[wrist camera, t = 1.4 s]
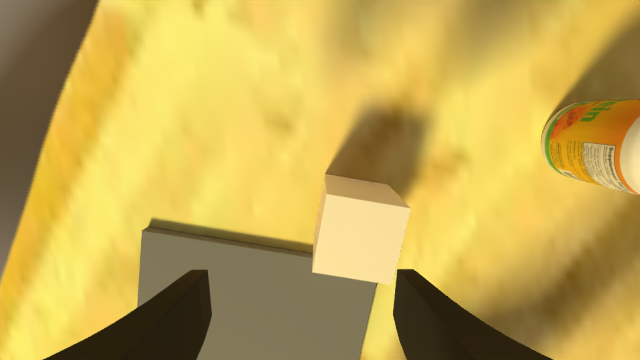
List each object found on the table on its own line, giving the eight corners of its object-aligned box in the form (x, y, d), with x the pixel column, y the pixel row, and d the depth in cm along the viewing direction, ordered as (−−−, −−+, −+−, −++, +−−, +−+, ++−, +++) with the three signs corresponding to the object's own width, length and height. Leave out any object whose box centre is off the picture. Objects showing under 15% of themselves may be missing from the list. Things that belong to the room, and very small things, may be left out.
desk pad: (378, 264, 25) (380, 269, 24) (348, 390, 27) (349, 398, 26) (147, 226, 24) (142, 230, 23) (139, 359, 27) (133, 367, 26)
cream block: (388, 184, 24) (411, 208, 18) (374, 243, 25) (392, 285, 19) (324, 173, 23) (326, 194, 17) (313, 233, 24) (311, 272, 18)
